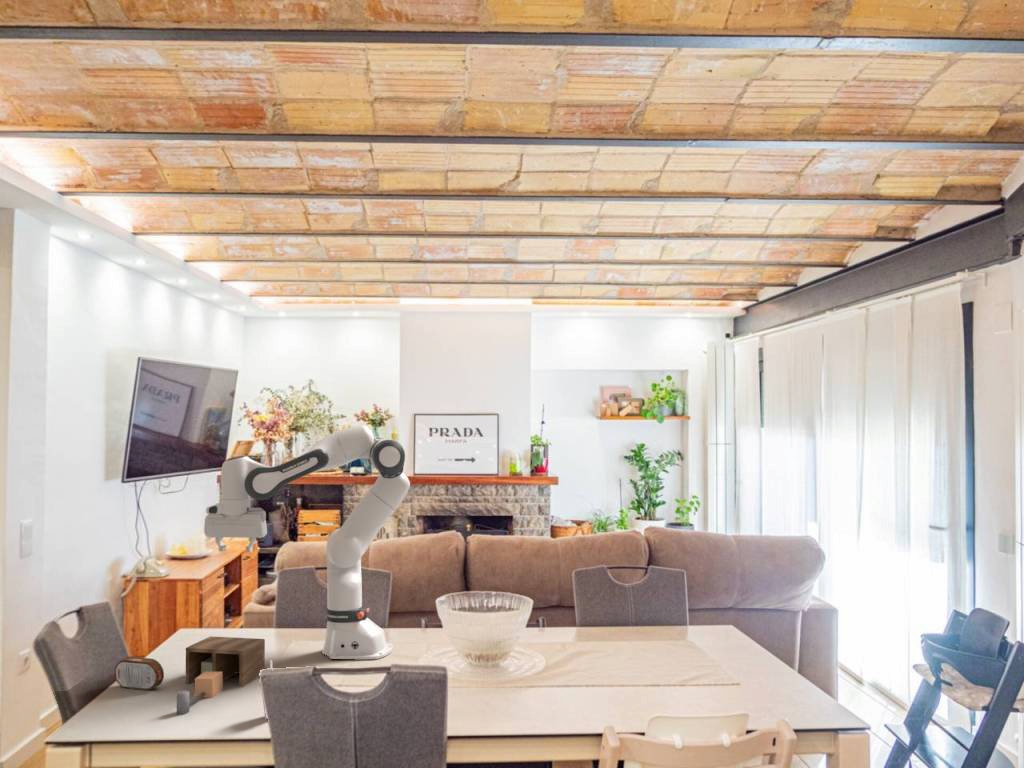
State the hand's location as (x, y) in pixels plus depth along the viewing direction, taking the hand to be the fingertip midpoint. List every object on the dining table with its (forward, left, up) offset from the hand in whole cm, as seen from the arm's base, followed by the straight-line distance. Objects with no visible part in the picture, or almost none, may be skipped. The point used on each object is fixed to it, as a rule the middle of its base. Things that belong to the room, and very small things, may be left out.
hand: (235, 551), depth 246 cm
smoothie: (-35, +40, -34) cm, 63 cm away
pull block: (-9, +34, -34) cm, 49 cm away
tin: (+14, +27, -34) cm, 46 cm away
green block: (-2, +14, -34) cm, 37 cm away
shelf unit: (-6, +15, -34) cm, 38 cm away
